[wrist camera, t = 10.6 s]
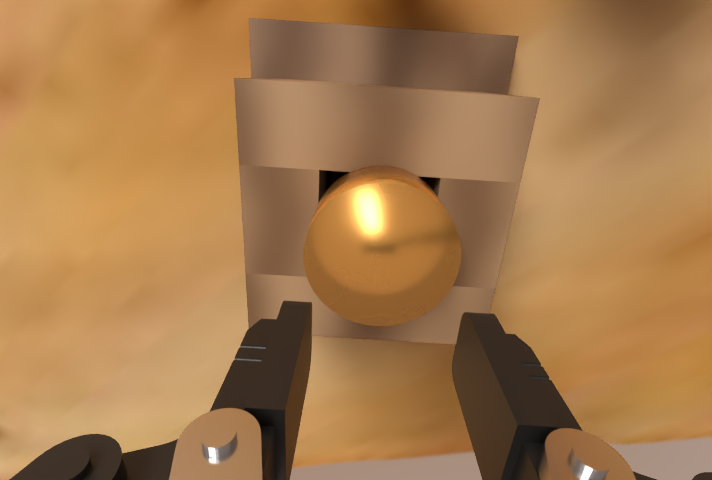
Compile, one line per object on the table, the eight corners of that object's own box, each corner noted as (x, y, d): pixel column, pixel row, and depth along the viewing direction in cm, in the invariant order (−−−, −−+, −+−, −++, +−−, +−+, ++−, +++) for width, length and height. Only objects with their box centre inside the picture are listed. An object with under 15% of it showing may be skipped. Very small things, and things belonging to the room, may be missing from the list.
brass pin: (429, 144, 23) (474, 188, 13) (416, 237, 25) (448, 330, 16) (328, 137, 23) (303, 177, 13) (325, 231, 25) (302, 321, 16)
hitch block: (509, 38, 23) (601, 12, 14) (458, 299, 30) (499, 392, 21) (255, 21, 22) (187, -16, 14) (265, 287, 29) (224, 375, 21)
